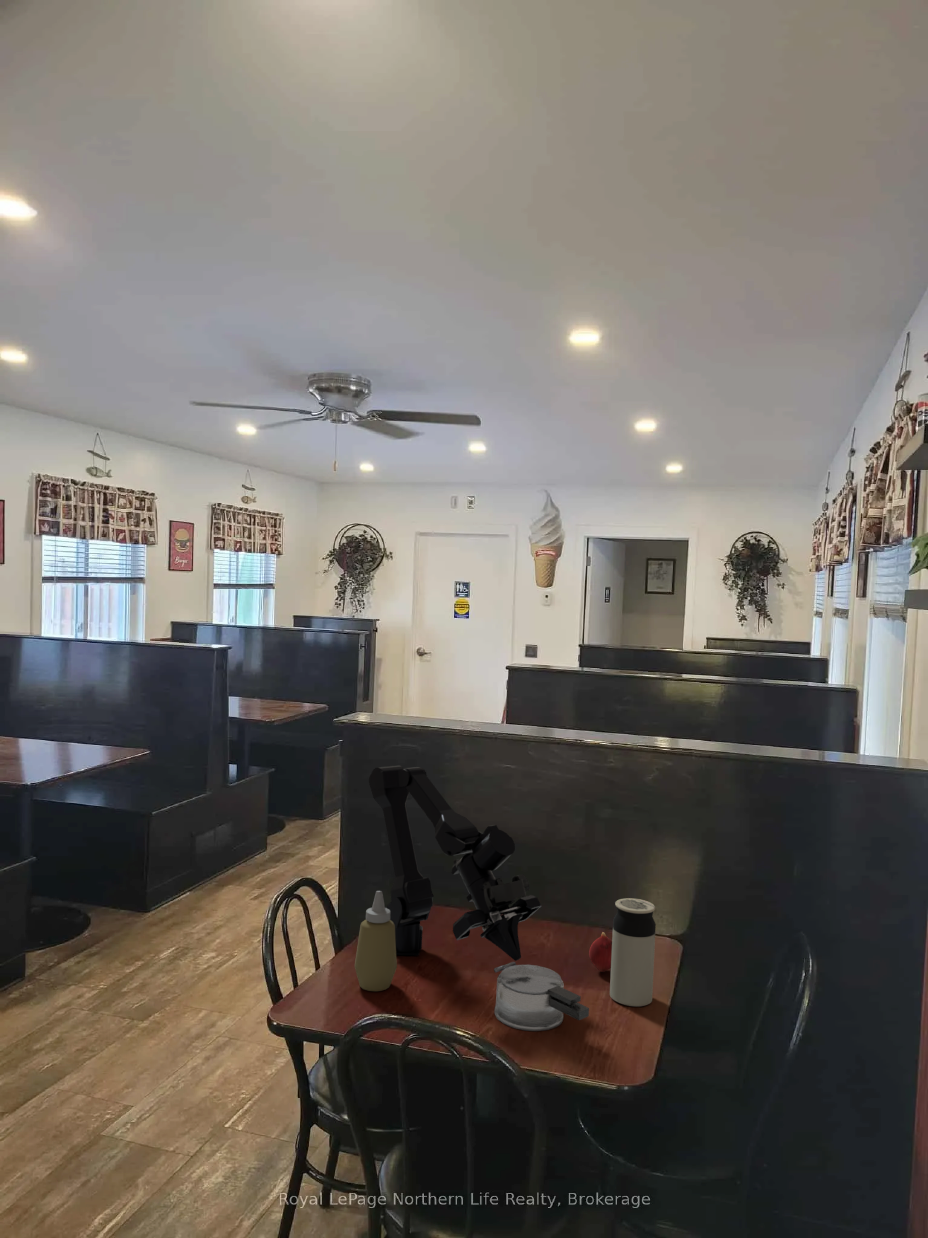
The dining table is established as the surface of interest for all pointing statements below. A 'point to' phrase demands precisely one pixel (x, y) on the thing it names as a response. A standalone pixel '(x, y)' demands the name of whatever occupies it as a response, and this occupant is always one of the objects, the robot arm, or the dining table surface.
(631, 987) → the travel mug
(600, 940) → the onion
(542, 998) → the pot
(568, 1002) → the lid
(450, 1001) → the dining table surface
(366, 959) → the squeeze bottle
